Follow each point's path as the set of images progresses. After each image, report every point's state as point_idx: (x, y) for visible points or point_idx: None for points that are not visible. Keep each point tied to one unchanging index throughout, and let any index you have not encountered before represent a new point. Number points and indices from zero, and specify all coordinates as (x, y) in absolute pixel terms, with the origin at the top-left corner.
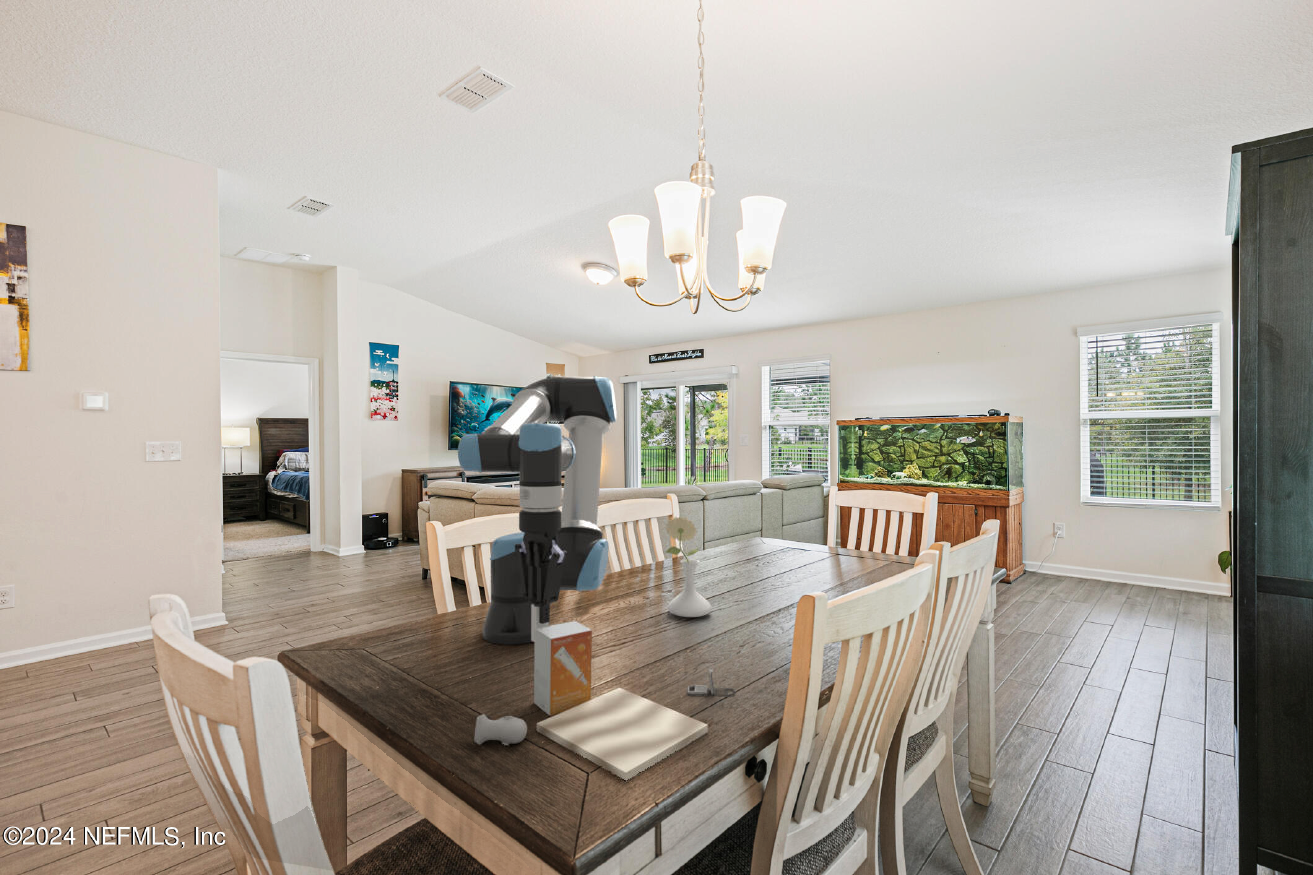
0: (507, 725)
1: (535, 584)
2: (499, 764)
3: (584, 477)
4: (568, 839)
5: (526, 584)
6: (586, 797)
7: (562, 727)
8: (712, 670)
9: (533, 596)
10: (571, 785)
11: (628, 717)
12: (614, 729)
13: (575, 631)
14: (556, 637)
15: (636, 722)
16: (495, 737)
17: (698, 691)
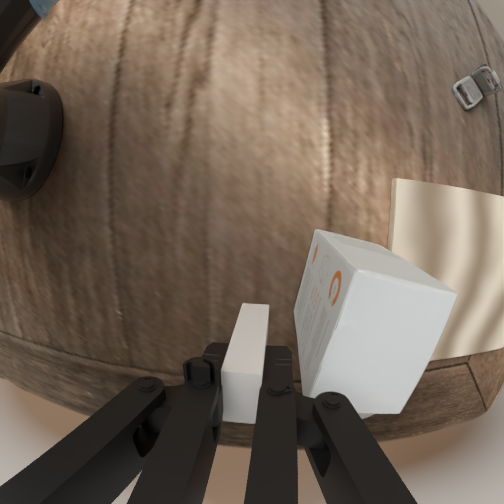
0: (366, 417)
1: (205, 474)
2: (379, 417)
3: None
4: (480, 410)
5: (146, 459)
6: (477, 381)
7: None
8: (496, 74)
9: (217, 437)
10: (460, 383)
11: (468, 260)
12: (468, 300)
13: (427, 341)
14: (406, 401)
15: (481, 263)
16: None
17: (476, 102)
